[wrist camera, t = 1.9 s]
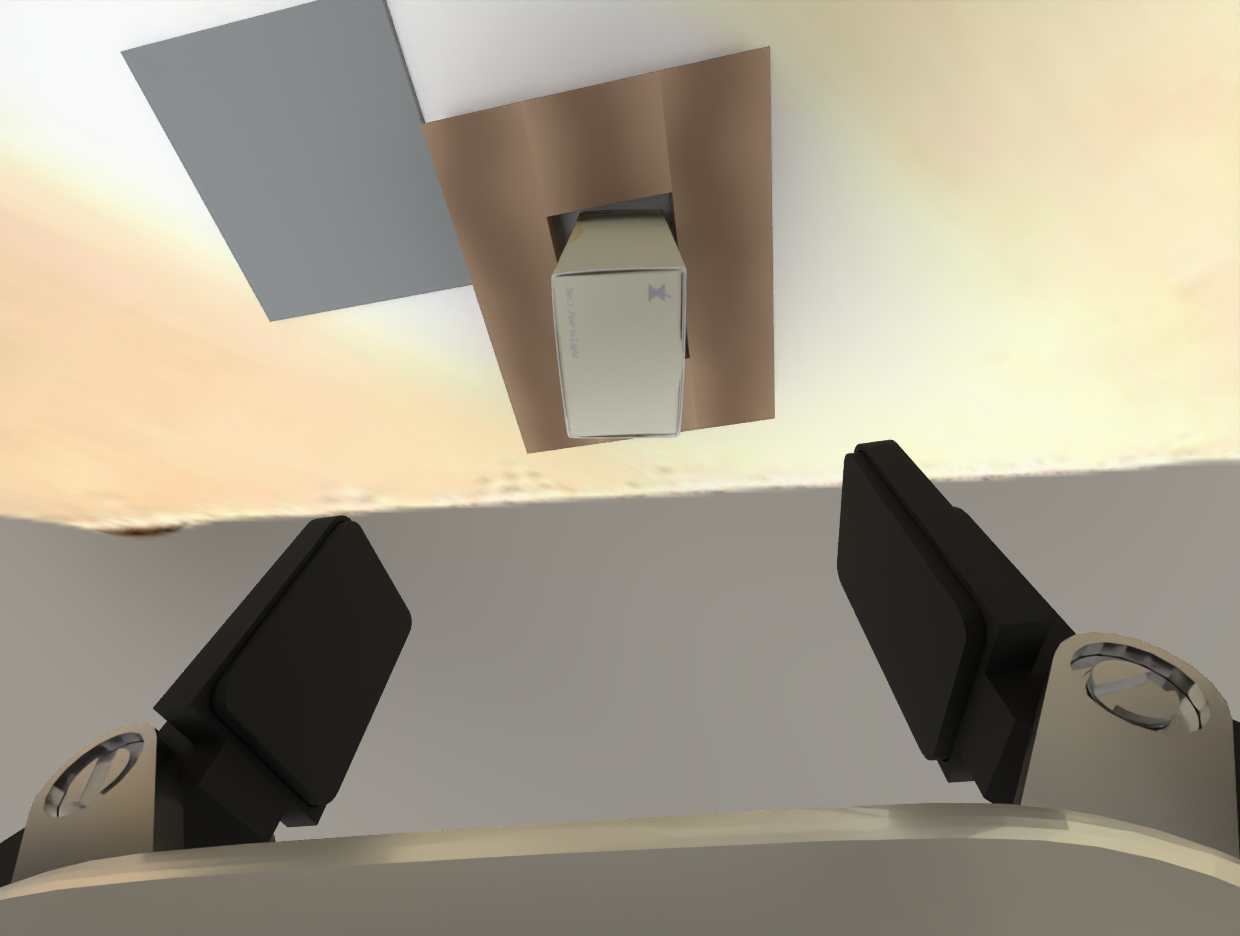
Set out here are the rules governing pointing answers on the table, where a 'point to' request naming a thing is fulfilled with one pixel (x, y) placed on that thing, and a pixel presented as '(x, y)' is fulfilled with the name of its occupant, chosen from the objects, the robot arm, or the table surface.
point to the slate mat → (308, 154)
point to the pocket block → (611, 173)
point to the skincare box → (621, 326)
